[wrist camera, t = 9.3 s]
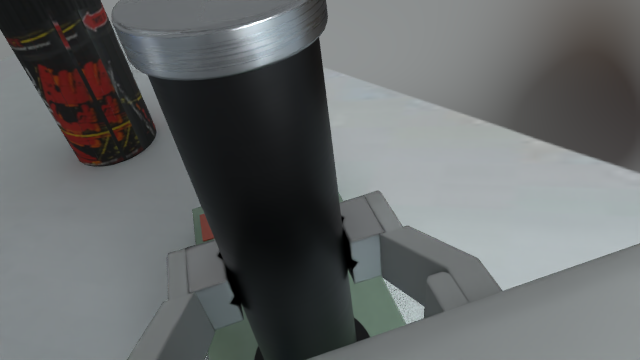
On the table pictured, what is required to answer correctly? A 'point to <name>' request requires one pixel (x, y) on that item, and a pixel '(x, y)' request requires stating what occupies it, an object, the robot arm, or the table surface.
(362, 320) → the base
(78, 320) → the table surface
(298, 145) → the cylinder
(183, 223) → the table surface
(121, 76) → the deodorant
